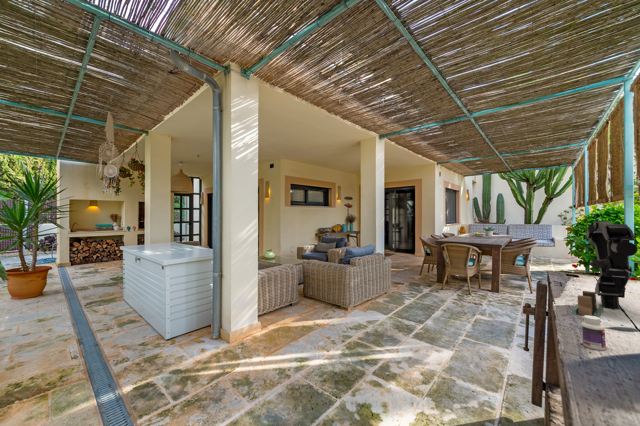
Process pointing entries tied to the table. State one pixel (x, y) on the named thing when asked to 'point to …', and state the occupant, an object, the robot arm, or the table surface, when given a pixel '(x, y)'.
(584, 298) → the block
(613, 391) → the table surface
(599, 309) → the rail
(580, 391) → the table surface
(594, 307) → the mounted finger
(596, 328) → the pill bottle
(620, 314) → the table surface
